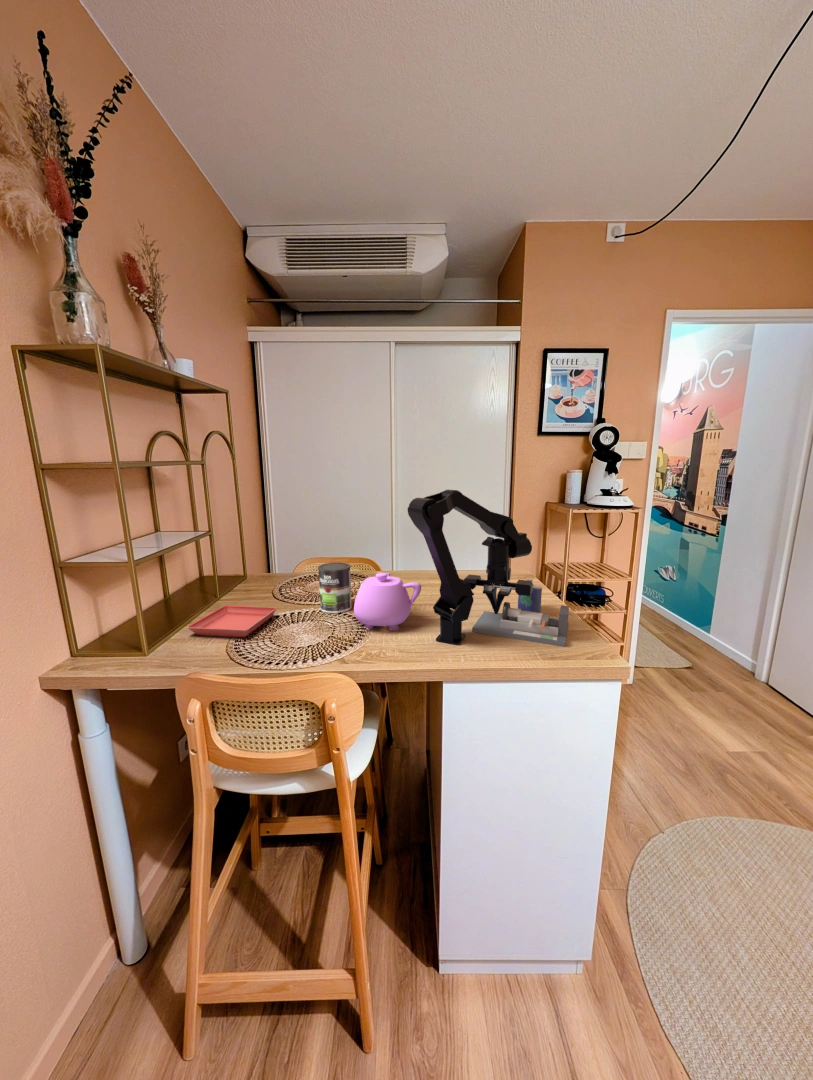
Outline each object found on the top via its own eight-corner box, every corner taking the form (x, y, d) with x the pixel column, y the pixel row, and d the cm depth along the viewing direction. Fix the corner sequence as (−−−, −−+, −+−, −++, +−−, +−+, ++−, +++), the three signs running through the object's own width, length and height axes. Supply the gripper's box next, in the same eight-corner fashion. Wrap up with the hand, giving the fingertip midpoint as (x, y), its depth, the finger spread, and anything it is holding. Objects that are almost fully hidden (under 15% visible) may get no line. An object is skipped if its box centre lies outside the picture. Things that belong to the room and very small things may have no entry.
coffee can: (343, 614, 126) (341, 571, 123) (314, 611, 129) (311, 569, 126) (357, 604, 135) (355, 563, 133) (329, 601, 138) (327, 561, 136)
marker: (538, 636, 104) (538, 626, 104) (542, 623, 113) (542, 614, 112) (545, 637, 104) (546, 627, 103) (549, 624, 112) (549, 614, 112)
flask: (542, 616, 122) (544, 582, 120) (535, 617, 121) (536, 583, 119) (522, 606, 131) (523, 574, 129) (514, 608, 129) (515, 575, 128)
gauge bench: (472, 631, 112) (472, 606, 110) (484, 614, 124) (485, 592, 123) (564, 646, 102) (566, 619, 101) (568, 626, 114) (569, 602, 113)
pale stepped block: (498, 630, 109) (499, 610, 108) (505, 618, 117) (506, 599, 116) (538, 636, 104) (539, 615, 103) (542, 623, 113) (543, 604, 112)
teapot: (424, 609, 130) (423, 563, 127) (419, 635, 110) (419, 582, 107) (363, 608, 132) (362, 563, 129) (349, 633, 112) (346, 581, 109)
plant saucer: (225, 614, 129) (224, 604, 128) (278, 616, 126) (277, 606, 125) (186, 638, 111) (185, 627, 111) (247, 641, 108) (246, 630, 108)
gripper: (536, 557, 116) (533, 608, 119) (472, 551, 123) (471, 600, 126) (531, 566, 106) (528, 622, 109) (462, 560, 113) (461, 612, 116)
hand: (496, 613), depth 115 cm, fingers closed
